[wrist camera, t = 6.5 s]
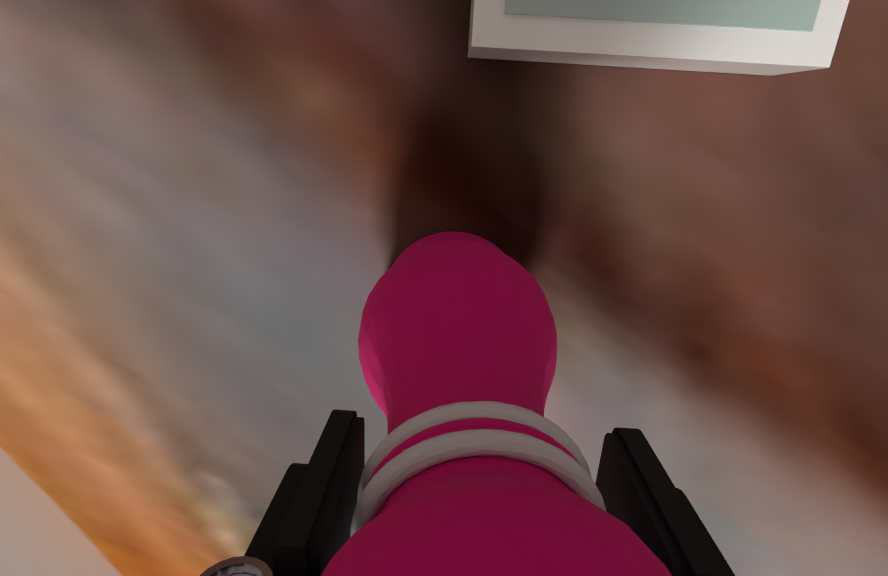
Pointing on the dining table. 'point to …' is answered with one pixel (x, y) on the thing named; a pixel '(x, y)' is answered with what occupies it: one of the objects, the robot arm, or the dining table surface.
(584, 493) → the pepper mill
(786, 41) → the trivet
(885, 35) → the dining table surface
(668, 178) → the dining table surface
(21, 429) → the dining table surface
